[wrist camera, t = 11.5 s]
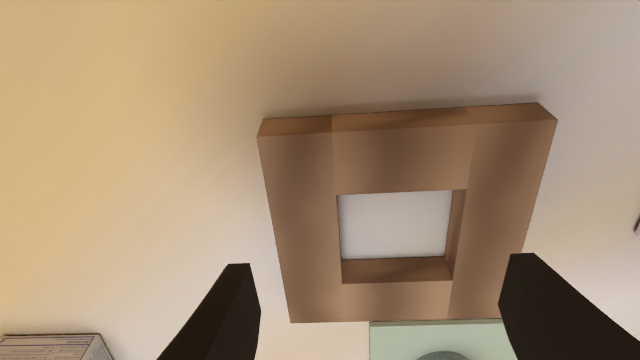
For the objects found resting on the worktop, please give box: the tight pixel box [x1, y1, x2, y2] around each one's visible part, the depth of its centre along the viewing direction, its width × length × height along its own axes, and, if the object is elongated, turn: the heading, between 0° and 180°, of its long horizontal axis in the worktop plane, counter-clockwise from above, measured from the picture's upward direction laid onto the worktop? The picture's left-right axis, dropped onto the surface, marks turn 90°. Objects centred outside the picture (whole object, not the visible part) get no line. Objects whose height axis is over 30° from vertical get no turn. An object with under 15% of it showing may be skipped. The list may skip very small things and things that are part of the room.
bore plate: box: [257, 103, 558, 323], centre depth 22 cm, size 14×14×2 cm
